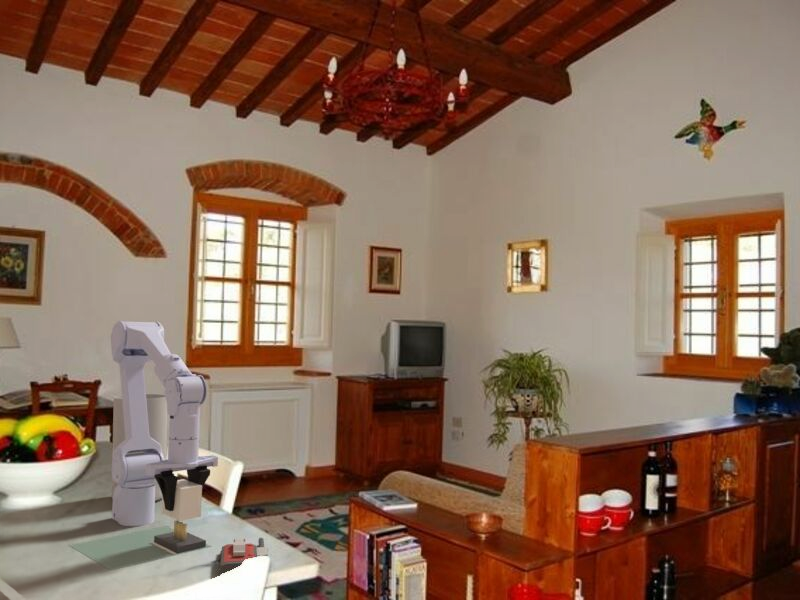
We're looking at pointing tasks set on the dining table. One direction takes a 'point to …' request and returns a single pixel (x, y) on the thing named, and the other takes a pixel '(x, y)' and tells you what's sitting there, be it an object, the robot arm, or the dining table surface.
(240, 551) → the walkie-talkie
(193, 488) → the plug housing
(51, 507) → the dining table surface
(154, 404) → the cylinder vase
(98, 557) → the header board
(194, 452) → the robot arm
